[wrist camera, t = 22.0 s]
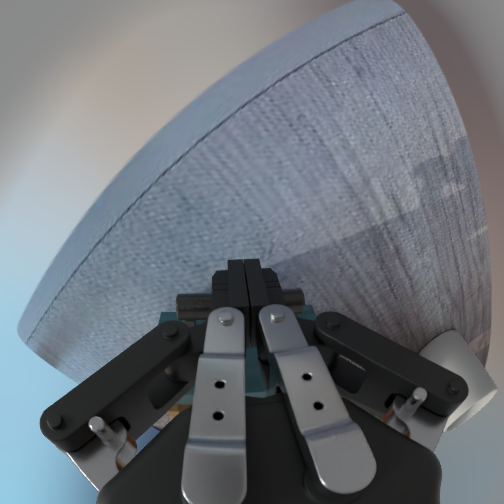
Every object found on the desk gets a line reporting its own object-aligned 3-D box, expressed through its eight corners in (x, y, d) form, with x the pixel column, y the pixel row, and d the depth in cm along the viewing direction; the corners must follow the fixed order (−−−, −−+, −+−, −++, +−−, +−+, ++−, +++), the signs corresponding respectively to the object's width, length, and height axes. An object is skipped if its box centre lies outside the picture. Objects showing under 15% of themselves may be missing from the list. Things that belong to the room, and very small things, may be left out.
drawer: (148, 254, 17) (117, 334, 11) (320, 247, 18) (365, 320, 12) (187, 402, 26) (186, 462, 20) (291, 396, 27) (305, 453, 21)
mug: (461, 318, 27) (506, 377, 17) (455, 351, 31) (489, 403, 21) (385, 366, 29) (420, 439, 19) (390, 392, 32) (417, 451, 23)
